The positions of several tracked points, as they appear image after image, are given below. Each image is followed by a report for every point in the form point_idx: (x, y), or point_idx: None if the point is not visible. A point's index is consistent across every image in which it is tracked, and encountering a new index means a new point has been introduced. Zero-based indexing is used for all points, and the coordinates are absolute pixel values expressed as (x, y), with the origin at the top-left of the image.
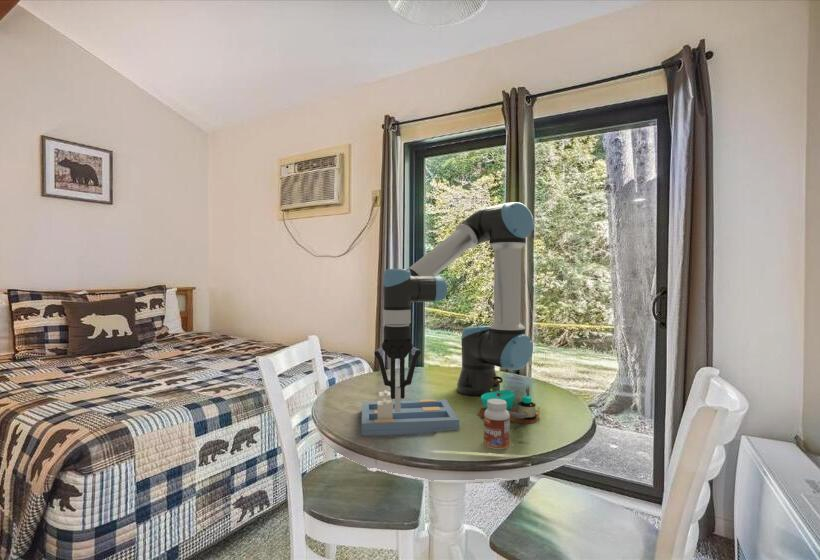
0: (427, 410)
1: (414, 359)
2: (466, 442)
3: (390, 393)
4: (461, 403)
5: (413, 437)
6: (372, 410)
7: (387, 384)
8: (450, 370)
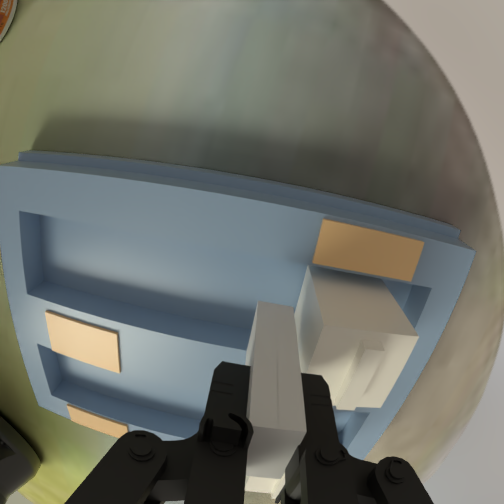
0: (99, 329)
1: None
2: (43, 47)
3: (261, 477)
4: (21, 399)
5: (229, 132)
6: None
7: (384, 465)
8: None
